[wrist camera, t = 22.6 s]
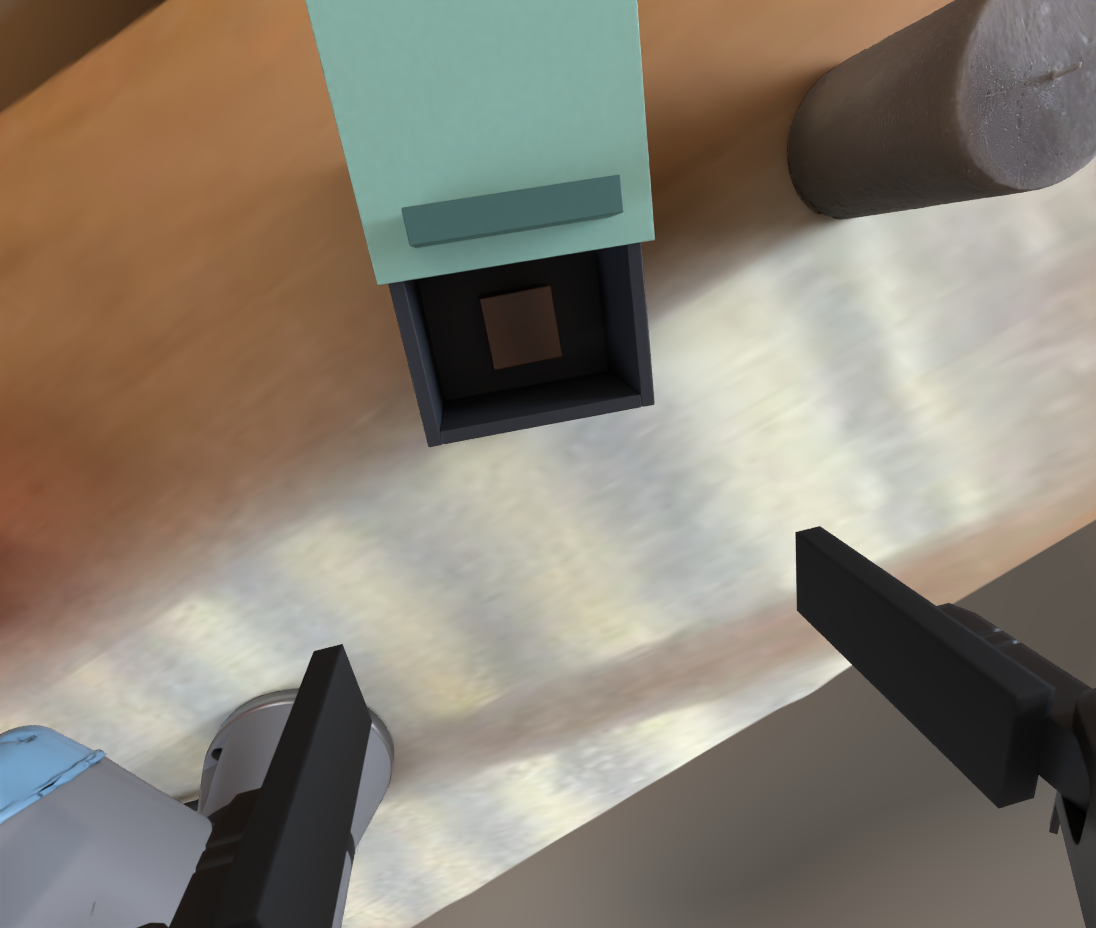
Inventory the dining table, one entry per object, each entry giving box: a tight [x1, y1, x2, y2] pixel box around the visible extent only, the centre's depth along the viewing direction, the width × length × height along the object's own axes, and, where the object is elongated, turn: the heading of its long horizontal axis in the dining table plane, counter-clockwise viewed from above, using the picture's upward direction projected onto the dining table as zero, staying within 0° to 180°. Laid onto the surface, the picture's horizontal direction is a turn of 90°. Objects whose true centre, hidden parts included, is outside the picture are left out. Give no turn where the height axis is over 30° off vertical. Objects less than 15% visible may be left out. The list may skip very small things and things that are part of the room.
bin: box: [389, 242, 655, 447], centre depth 33 cm, size 14×17×9 cm
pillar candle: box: [787, 0, 1096, 219], centre depth 30 cm, size 10×10×15 cm
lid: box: [305, 0, 655, 285], centre depth 24 cm, size 14×17×4 cm
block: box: [478, 283, 562, 370], centre depth 35 cm, size 4×4×4 cm
